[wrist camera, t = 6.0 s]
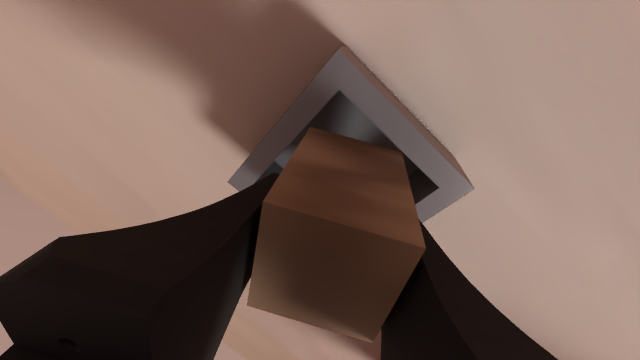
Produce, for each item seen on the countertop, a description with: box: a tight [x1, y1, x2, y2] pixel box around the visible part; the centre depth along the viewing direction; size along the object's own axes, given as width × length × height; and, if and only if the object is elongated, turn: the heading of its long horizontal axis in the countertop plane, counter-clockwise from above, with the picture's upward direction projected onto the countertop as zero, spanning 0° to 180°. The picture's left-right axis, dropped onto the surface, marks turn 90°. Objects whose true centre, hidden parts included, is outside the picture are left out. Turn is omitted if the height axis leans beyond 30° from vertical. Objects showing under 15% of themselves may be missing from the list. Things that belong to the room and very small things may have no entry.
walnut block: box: [247, 127, 426, 343], centre depth 10 cm, size 4×4×6 cm
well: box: [228, 45, 475, 223], centre depth 14 cm, size 8×8×3 cm
